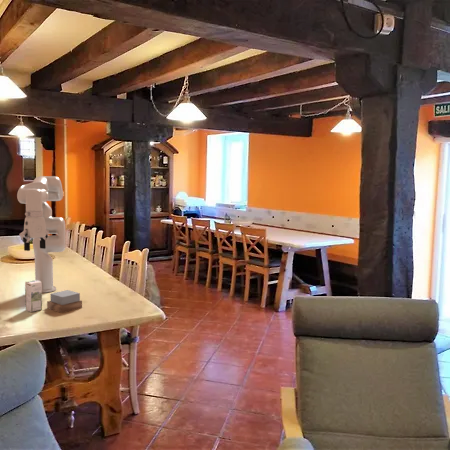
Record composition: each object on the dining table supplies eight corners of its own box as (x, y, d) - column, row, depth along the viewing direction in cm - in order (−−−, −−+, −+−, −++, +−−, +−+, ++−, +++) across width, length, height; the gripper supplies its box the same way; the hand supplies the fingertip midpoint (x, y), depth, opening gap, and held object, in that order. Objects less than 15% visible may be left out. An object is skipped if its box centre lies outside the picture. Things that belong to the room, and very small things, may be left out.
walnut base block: (47, 309, 235) (47, 301, 235) (67, 304, 245) (67, 296, 245) (61, 313, 228) (61, 305, 228) (82, 308, 238) (82, 300, 238)
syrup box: (36, 307, 236) (35, 279, 234) (42, 310, 232) (41, 281, 230) (25, 310, 231) (24, 281, 230) (31, 312, 228) (30, 283, 226)
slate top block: (50, 301, 235) (50, 293, 235) (67, 297, 243) (67, 289, 243) (62, 305, 229) (62, 297, 229) (79, 300, 237) (79, 293, 237)
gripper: (25, 215, 219) (26, 252, 220) (53, 214, 235) (54, 248, 236) (14, 215, 222) (14, 251, 223) (42, 213, 238) (42, 247, 239)
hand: (35, 249), depth 230 cm, fingers open, 9 cm apart
